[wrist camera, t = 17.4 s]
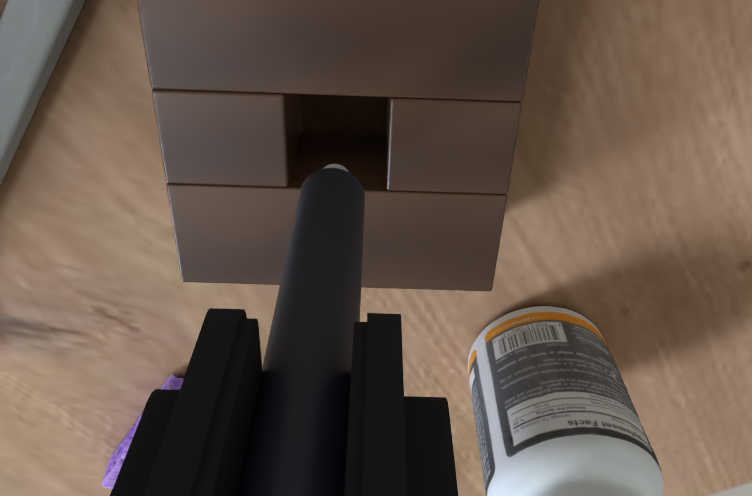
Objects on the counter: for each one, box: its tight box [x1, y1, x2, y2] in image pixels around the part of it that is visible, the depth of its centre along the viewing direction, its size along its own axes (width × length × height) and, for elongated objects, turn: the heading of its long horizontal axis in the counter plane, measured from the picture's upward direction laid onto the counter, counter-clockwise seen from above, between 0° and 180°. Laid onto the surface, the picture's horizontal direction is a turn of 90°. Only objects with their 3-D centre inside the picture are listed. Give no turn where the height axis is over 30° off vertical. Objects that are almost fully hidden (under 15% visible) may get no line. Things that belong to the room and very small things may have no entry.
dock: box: [137, 0, 539, 291], centre depth 20 cm, size 10×10×4 cm
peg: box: [236, 164, 365, 496], centre depth 12 cm, size 2×2×13 cm
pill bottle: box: [468, 306, 663, 496], centre depth 24 cm, size 6×6×10 cm
